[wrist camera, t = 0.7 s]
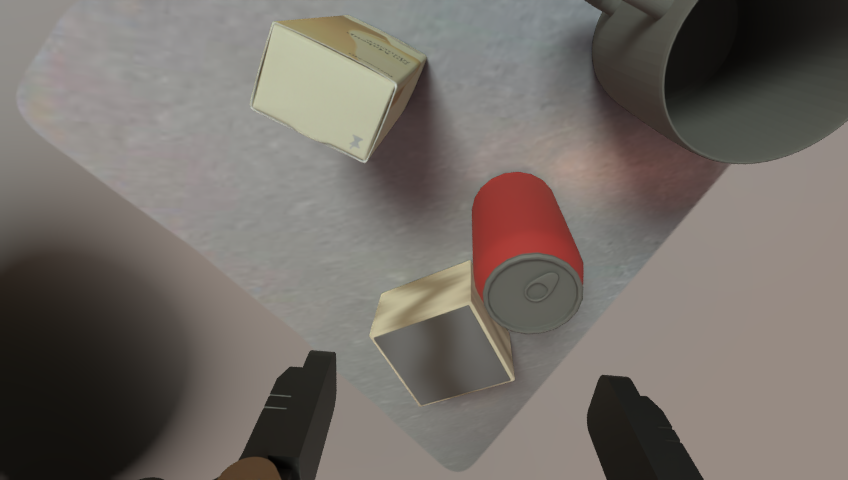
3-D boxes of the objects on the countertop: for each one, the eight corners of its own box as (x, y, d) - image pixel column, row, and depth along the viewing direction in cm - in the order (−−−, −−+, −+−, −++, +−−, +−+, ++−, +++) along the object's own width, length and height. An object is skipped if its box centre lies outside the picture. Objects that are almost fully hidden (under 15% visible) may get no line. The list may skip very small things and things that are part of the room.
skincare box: (429, 54, 30) (407, 85, 19) (404, 112, 32) (371, 169, 21) (342, 10, 29) (268, 15, 18) (322, 72, 31) (246, 110, 20)
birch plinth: (470, 260, 37) (470, 302, 32) (509, 333, 41) (515, 382, 36) (381, 293, 40) (368, 337, 35) (425, 359, 43) (419, 408, 38)
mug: (774, -2, 26) (975, -3, 16) (671, 131, 31) (776, 199, 20) (583, -116, 24) (670, -202, 14) (503, 43, 29) (524, 67, 18)
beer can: (572, 201, 34) (619, 290, 23) (516, 257, 37) (535, 358, 26) (509, 152, 32) (528, 224, 22) (455, 214, 35) (450, 303, 25)
